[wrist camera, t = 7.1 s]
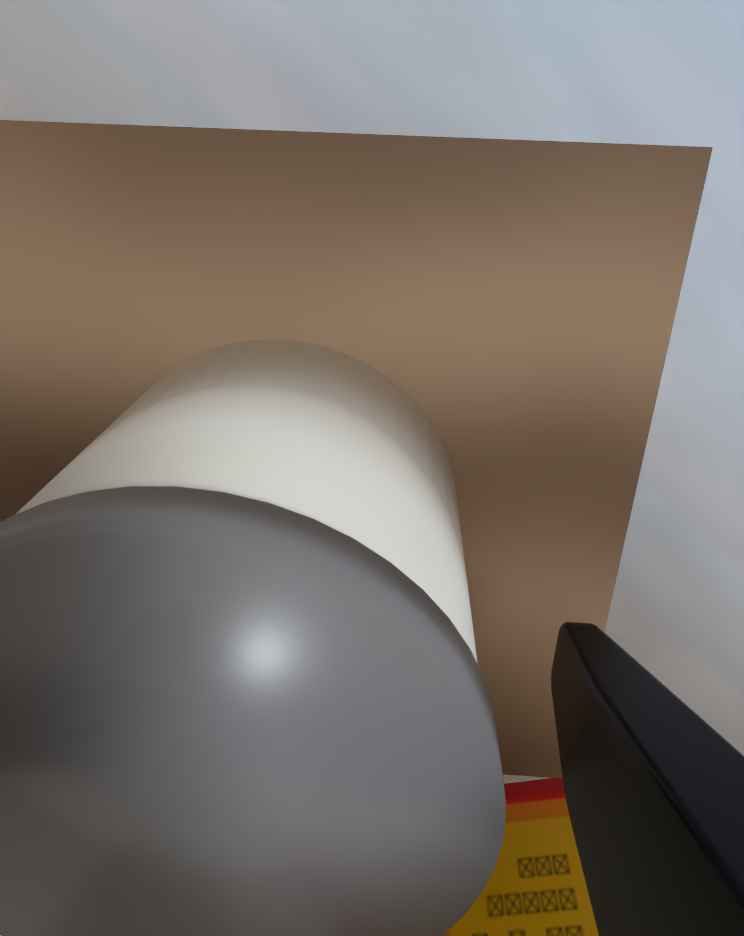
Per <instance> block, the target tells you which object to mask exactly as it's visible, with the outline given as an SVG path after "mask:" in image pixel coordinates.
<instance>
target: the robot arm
mask: <svg viewBox="0 0 744 936" xmlns="http://www.w3.org/2000/svg"><path fill="white" fill-rule="evenodd" d="M551 692H552V699H553V707H554V715H555V723H556V731H557V739H558V746H559V754H560V762H561V770H562V778H563V785H564V791H565V798H566V803H567V808H568V812H569V817H570V821H571V825H572V829H573V833H574V837H575V841H576V845H577V850H578V854H579V858H580V862H581V866H582V870H583V874H584V878H585V882H586V886H587V890H588V894H589V898H590V902H591V906H592V910H593V914H594V918H595V922H596V926H597V930H598V934H599V936H744V756H743V755H742V754H741V753H740V752H739V751H738V750H737V749H735V748H734V747H733V746H732V745H731V744H730V743H729V742H728V741H726V740H725V739H724V738H723V737H722V736H721V735H720V734H719V733H717V732H716V731H715V730H714V729H713V728H712V727H711V726H709V725H708V724H707V723H706V722H705V721H704V720H703V719H702V718H700V717H699V716H698V715H697V714H696V713H695V712H694V711H692V710H691V709H690V708H689V707H688V706H687V705H686V704H685V703H683V702H682V701H681V700H680V699H679V698H678V697H677V696H676V695H674V694H673V693H672V692H671V691H670V690H669V689H668V688H666V687H665V686H664V685H663V684H662V683H661V682H660V681H659V680H657V679H656V678H655V677H654V676H653V675H652V674H651V673H650V672H648V671H647V670H646V669H645V668H644V667H643V666H642V665H640V664H639V663H638V662H637V661H636V660H635V659H634V658H633V657H631V656H630V655H629V654H628V653H627V652H626V651H625V650H624V649H622V648H621V647H620V646H619V645H618V644H617V643H616V642H614V641H613V640H612V639H611V638H610V637H609V636H608V635H607V634H605V633H604V632H603V631H602V630H601V629H600V628H599V627H597V626H596V625H594V624H591V623H579V622H565V623H563V624H562V625H561V627H560V629H559V633H558V638H557V643H556V649H555V654H554V659H553V665H552V671H551Z"/></svg>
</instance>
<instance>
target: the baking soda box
mask: <svg viewBox="0 0 744 936" xmlns="http://www.w3.org/2000/svg"><path fill="white" fill-rule="evenodd" d="M504 790H505V800H506V819H505V830H504V839H503V842H502V846H501V849H500V853H499V856H498V860H497V863H496V866H495V868H494V870H493V872H492V874H491V876H490V878H489V880H488V882H487V884H486V886H485V888H484V890H483V891H482V893H481V894H480V895H479V897H478V898H477V899H476V901H475V902H474V903H473V905H472V906H471V907H470V909H469V910H468V911H467V913H466V914H465V915H464V916H463V917H462V918H461V919H460V920H459V921H458V922H457V923H456V924H455V925H454V926H453V927H451V928H450V929H449V930H448V931H447V932H446V933H445V934H444V935H443V936H599V934H598V930H597V926H596V922H595V918H594V914H593V910H592V906H591V902H590V898H589V894H588V890H587V886H586V882H585V878H584V874H583V870H582V866H581V862H580V858H579V854H578V850H577V845H576V841H575V837H574V833H573V829H572V825H571V821H570V817H569V812H568V808H567V803H566V798H565V791H564V785H563V778H552V779H543V780H535V781H527V782H519V783H510V784H504Z"/></svg>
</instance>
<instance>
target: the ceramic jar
mask: <svg viewBox="0 0 744 936" xmlns="http://www.w3.org/2000/svg"><path fill="white" fill-rule="evenodd" d="M505 819H506V800H505V790H504V780H503V773H502V766H501V759H500V752H499V745H498V738H497V731H496V724H495V717H494V710H493V706H492V703H491V699H490V696H489V692H488V689H487V686H486V682H485V679H484V677H483V675H482V673H481V670H480V668H479V666H478V664H477V656H476V648H475V640H474V632H473V624H472V616H471V608H470V600H469V592H468V584H467V576H466V568H465V560H464V552H463V544H462V536H461V528H460V521H459V513H458V505H457V497H456V489H455V481H454V476H453V472H452V468H451V465H450V461H449V457H448V455H447V453H446V451H445V448H444V446H443V444H442V441H441V439H440V437H439V435H438V434H437V432H436V430H435V429H434V427H433V426H432V424H431V422H430V421H429V419H428V418H427V416H426V415H425V414H424V413H423V411H422V410H421V409H420V408H419V407H418V405H417V404H416V403H415V402H414V400H412V399H411V398H410V397H409V396H408V395H407V394H406V393H405V392H404V391H403V390H402V389H401V388H400V387H399V386H398V385H397V384H395V383H394V382H392V381H391V380H390V379H388V378H387V377H386V376H384V375H383V374H381V373H380V372H379V371H377V370H376V369H374V368H372V367H370V366H368V365H367V364H365V363H363V362H361V361H359V360H357V359H356V358H353V357H351V356H348V355H346V354H343V353H341V352H338V351H335V350H333V349H330V348H326V347H322V346H318V345H314V344H310V343H306V342H298V341H289V340H251V341H244V342H237V343H231V344H227V345H224V346H220V347H217V348H213V349H210V350H207V351H205V352H203V353H201V354H198V355H196V356H194V357H192V358H189V359H187V360H186V361H184V362H183V363H181V364H179V365H178V366H176V367H175V368H173V369H171V370H170V371H168V372H167V373H166V374H165V375H164V376H163V377H161V378H160V379H159V380H158V381H157V382H156V383H154V384H153V385H152V386H151V387H150V388H149V389H148V390H147V391H146V392H145V393H144V394H143V395H142V396H140V397H139V398H138V399H137V400H136V401H135V402H134V403H133V404H132V405H131V406H130V407H129V408H128V409H127V410H126V411H124V412H123V413H122V414H121V415H120V416H119V417H118V418H117V419H116V420H115V421H114V422H113V423H112V424H111V425H110V426H109V427H107V428H106V429H105V430H104V431H103V432H102V433H101V434H100V435H99V436H98V437H97V438H96V439H95V440H94V441H93V442H92V443H90V444H89V445H88V446H87V447H86V448H85V449H84V450H83V451H82V452H81V453H80V454H79V455H78V456H77V457H76V458H75V459H73V460H72V461H71V462H70V463H69V464H68V465H67V466H66V467H65V468H64V469H63V470H62V471H61V472H60V473H59V474H58V475H56V476H55V477H54V478H53V479H52V480H51V481H50V482H49V483H48V484H47V485H46V486H45V487H44V488H43V489H42V490H41V491H39V492H38V493H37V494H36V495H35V496H34V497H33V498H32V499H31V500H30V501H29V502H28V503H27V504H26V505H25V506H23V507H22V508H21V509H20V510H19V511H18V512H17V513H16V514H15V515H13V516H11V517H8V518H7V519H5V520H4V521H2V522H0V935H2V936H443V935H444V934H445V933H446V932H447V931H448V930H449V929H450V928H451V927H453V926H454V925H455V924H456V923H457V922H458V921H459V920H460V919H461V918H462V917H463V916H464V915H465V914H466V913H467V911H468V910H469V909H470V907H471V906H472V905H473V903H474V902H475V901H476V899H477V898H478V897H479V895H480V894H481V893H482V891H483V890H484V888H485V886H486V884H487V882H488V880H489V878H490V876H491V874H492V872H493V870H494V868H495V866H496V863H497V860H498V856H499V853H500V849H501V846H502V842H503V839H504V830H505Z"/></svg>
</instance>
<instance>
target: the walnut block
mask: <svg viewBox="0 0 744 936" xmlns="http://www.w3.org/2000/svg"><path fill="white" fill-rule="evenodd" d="M711 152H712V147H688V146H662V145H636V144H610V143H584V142H558V141H531V140H505V139H479V138H453V137H427V136H401V135H375V134H349V133H323V132H296V131H270V130H244V129H218V128H192V127H166V126H140V125H114V124H88V123H61V122H35V121H9V120H0V522H2V521H4V520H5V519H7V518H8V517H11V516H13V515H15V514H16V513H17V512H18V511H19V510H20V509H21V508H22V507H23V506H25V505H26V504H27V503H28V502H29V501H30V500H31V499H32V498H33V497H34V496H35V495H36V494H37V493H38V492H39V491H41V490H42V489H43V488H44V487H45V486H46V485H47V484H48V483H49V482H50V481H51V480H52V479H53V478H54V477H55V476H56V475H58V474H59V473H60V472H61V471H62V470H63V469H64V468H65V467H66V466H67V465H68V464H69V463H70V462H71V461H72V460H73V459H75V458H76V457H77V456H78V455H79V454H80V453H81V452H82V451H83V450H84V449H85V448H86V447H87V446H88V445H89V444H90V443H92V442H93V441H94V440H95V439H96V438H97V437H98V436H99V435H100V434H101V433H102V432H103V431H104V430H105V429H106V428H107V427H109V426H110V425H111V424H112V423H113V422H114V421H115V420H116V419H117V418H118V417H119V416H120V415H121V414H122V413H123V412H124V411H126V410H127V409H128V408H129V407H130V406H131V405H132V404H133V403H134V402H135V401H136V400H137V399H138V398H139V397H140V396H142V395H143V394H144V393H145V392H146V391H147V390H148V389H149V388H150V387H151V386H152V385H153V384H154V383H156V382H157V381H158V380H159V379H160V378H161V377H163V376H164V375H165V374H166V373H167V372H168V371H170V370H171V369H173V368H175V367H176V366H178V365H179V364H181V363H183V362H184V361H186V360H187V359H189V358H192V357H194V356H196V355H198V354H201V353H203V352H205V351H207V350H210V349H213V348H217V347H220V346H224V345H227V344H231V343H237V342H244V341H251V340H289V341H298V342H306V343H310V344H314V345H318V346H322V347H326V348H330V349H333V350H335V351H338V352H341V353H343V354H346V355H348V356H351V357H353V358H356V359H357V360H359V361H361V362H363V363H365V364H367V365H368V366H370V367H372V368H374V369H376V370H377V371H379V372H380V373H381V374H383V375H384V376H386V377H387V378H388V379H390V380H391V381H392V382H394V383H395V384H397V385H398V386H399V387H400V388H401V389H402V390H403V391H404V392H405V393H406V394H407V395H408V396H409V397H410V398H411V399H412V400H414V402H415V403H416V404H417V405H418V407H419V408H420V409H421V410H422V411H423V413H424V414H425V415H426V416H427V418H428V419H429V421H430V422H431V424H432V426H433V427H434V429H435V430H436V432H437V434H438V435H439V437H440V439H441V441H442V444H443V446H444V448H445V451H446V453H447V455H448V457H449V461H450V465H451V468H452V472H453V476H454V481H455V489H456V497H457V505H458V513H459V521H460V528H461V536H462V544H463V552H464V560H465V568H466V576H467V584H468V592H469V600H470V608H471V616H472V624H473V632H474V640H475V648H476V656H477V664H478V666H479V668H480V670H481V673H482V675H483V677H484V679H485V682H486V686H487V689H488V692H489V696H490V699H491V703H492V706H493V710H494V717H495V724H496V731H497V738H498V745H499V752H500V759H501V766H502V773H503V774H509V775H522V776H536V777H549V778H562V770H561V762H560V754H559V746H558V739H557V731H556V723H555V715H554V707H553V699H552V692H551V671H552V665H553V659H554V654H555V649H556V643H557V638H558V633H559V629H560V627H561V625H562V624H563V623H565V622H579V623H591V624H594V625H596V626H597V627H599V628H600V629H601V630H602V631H603V632H604V630H605V626H606V621H607V617H608V612H609V608H610V603H611V599H612V594H613V590H614V586H615V581H616V577H617V572H618V568H619V563H620V559H621V554H622V550H623V545H624V541H625V536H626V532H627V527H628V523H629V518H630V514H631V510H632V505H633V501H634V496H635V492H636V487H637V483H638V478H639V474H640V469H641V465H642V460H643V456H644V451H645V447H646V443H647V438H648V434H649V429H650V425H651V420H652V416H653V411H654V407H655V402H656V398H657V393H658V389H659V384H660V380H661V375H662V371H663V367H664V362H665V358H666V353H667V349H668V344H669V340H670V335H671V331H672V326H673V322H674V317H675V313H676V308H677V304H678V299H679V295H680V291H681V286H682V282H683V277H684V273H685V268H686V264H687V259H688V255H689V250H690V246H691V241H692V237H693V232H694V228H695V223H696V219H697V215H698V210H699V206H700V201H701V197H702V192H703V188H704V183H705V179H706V174H707V170H708V165H709V161H710V156H711Z"/></svg>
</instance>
